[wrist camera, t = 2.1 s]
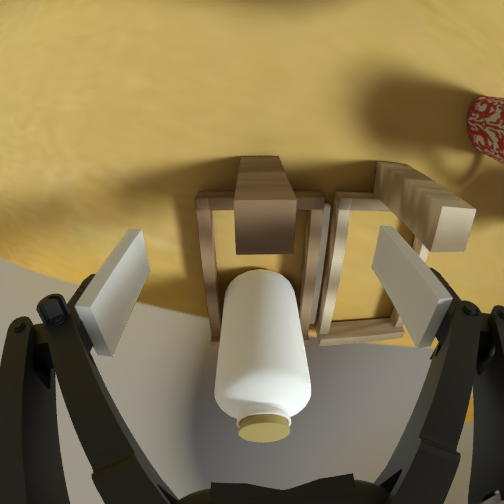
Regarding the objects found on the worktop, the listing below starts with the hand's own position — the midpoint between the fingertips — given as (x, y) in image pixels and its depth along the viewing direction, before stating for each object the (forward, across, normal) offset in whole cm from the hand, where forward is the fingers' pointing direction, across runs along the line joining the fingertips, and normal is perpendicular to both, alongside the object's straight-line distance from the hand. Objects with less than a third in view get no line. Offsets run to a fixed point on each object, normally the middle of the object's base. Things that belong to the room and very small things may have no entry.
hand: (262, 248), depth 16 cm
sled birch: (+14, +14, -9) cm, 22 cm away
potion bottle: (+15, 0, -14) cm, 20 cm away
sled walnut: (+14, 0, -9) cm, 17 cm away
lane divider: (+14, +7, -11) cm, 19 cm away
